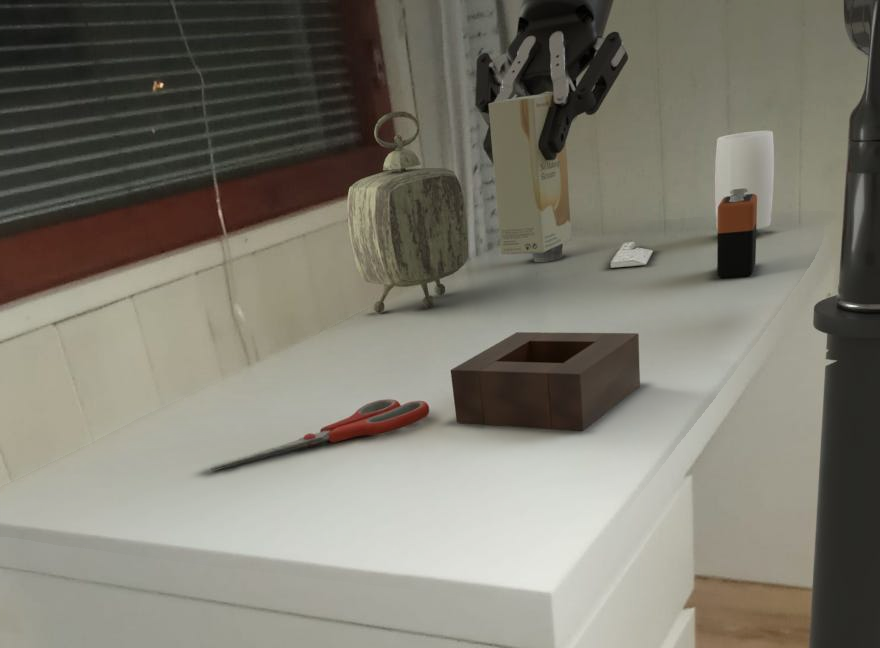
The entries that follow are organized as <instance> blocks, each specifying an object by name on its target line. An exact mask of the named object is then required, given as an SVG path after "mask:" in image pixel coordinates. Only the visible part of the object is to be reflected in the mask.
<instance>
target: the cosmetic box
mask: <svg viewBox="0 0 880 648" xmlns="http://www.w3.org/2000/svg"><path fill="white" fill-rule="evenodd" d="M552 106H555V103H554V97H553V92H546V93H542V94H539V95H531V96H524V97H518V98H513V99H507V100H502V101H497V102H492V103H490V104H489V116H490V128H491V140H492V153H493V163H492V165H493V164H494V165H493V172H494V173H493V174H494V175H493V176H494V188H495V198H496V199H495V200H496V210H497V222H498V224H497V225H498V235H499V236H498V237H499V247H500V254H501V255H519V254H533V253H544V252H546V251H547V250H549V249H552V248H554V247H556V246H558V245H560V244H563V245H564V244H565V243H567V242H570V241H571V240H572V227H571V226H572V225H571V224H572V223H571V209H570V194H569V193H570V192H569V191H570V190H569V174H568V156H567V141H566V142H565V145H564V148H563V149H562V151H561V152H560V153H557V156H556V159H555V160H548V161H546V160H545V158H544V156H543V155H542V153H541V151H540V149H539V145H538V143H539V139H540V136H541V132H542V129H543V126H544V123H545V120H546V116H547V113H548V110H549V107H552Z"/></svg>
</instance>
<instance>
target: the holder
mask: <svg viewBox="0 0 880 648" xmlns="http://www.w3.org/2000/svg"><path fill="white" fill-rule="evenodd" d="M639 336H640V335H639V333H638V332H533V331H532V332H531V331H529V332H528V331H527V332H525V331H524V332H522V331H519V332H518V331H517V332H514V333H513V334H511V335H509V336H508V337H506V338H504V339H502V340H501V341H499V342H497V343H495V344H493V345H492V346H490V347H487V348H486V349H484V350H483V351H481V352H480V353H478V354H476V355H475V356H472V357H470V358H469V359H467V360H466V361H464V362H462V363H460V364H458V365H457V366H455V367H453V368H452V369H450V378H451V385H452V393H453V402H454V410H455V419H456V423H459V424H472V425H474V424H476V425H491V426H503V427H504V426H505V427H520V428H535V429H552V430H564V431H565V430H566V431H579V432H583V431H585V430H586V429H587V428H589V427H590V426H591V425H592V424H594V423H595V422H596V421H597V420H599V419H600V418H601V417H602V416H603V415H605V414H606V413H607V412H609V411H610V410H611V409H613V408H614V407H615V406H616V405H618V404H619V403H620V402H622V401H623V400H624V399H626V398H627V397H628V396H629V395H630V394H631V393H632V392H634V391H635V390H637V389H638V388H639V387H640V386H641V374H640V373H641V372H640V340H639V339H640V338H639Z"/></svg>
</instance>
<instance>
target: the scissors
mask: <svg viewBox="0 0 880 648" xmlns="http://www.w3.org/2000/svg"><path fill="white" fill-rule="evenodd" d="M429 413H430V406H429V404H428V403H427V402H426V401H424V400H413V401H409V402H406V403H404V404H402V405H401V403H400V402H399V401H398V400H396V399H391V398H390V399H388V398H387V399H379V400H374V401H372V402H369V403H367V404H365V405H363V406H361V407H359V408H358V409H357V410H356V411H355V412H354V413H353V414H351V415H350V416H348V417H346V418H343V419H341V420H338V421H336V422H334V423H330V424H329V425H328V424H327V425H326V426H323V427H322V428H320V431H319V432H316V433H306V434H305V435H304V436H302V437H300V438H298V439H296V440H294V441H291V442H287V443H284V444H281V445H278V446H275V447H272V448H269V449H265V450H263V451H259V452H256V453H252V454H249V455H247V456H244V457H241V458H238V459H235V460H232V461H229V462H225V463H223V464H219V465H217V466H214V467H210V470H211V471H215V470H219V469H222V468H226V467H229V466H234V465H237V464H241V463H245V462H248V461H252V460H256V459H260V458H264V457H267V456H271V455H274V454H279V453H282V452H286V451H289V450H295V449H298V448H305V447H314V446H315V445H317V444H319V443H323V442H327V441H329V443H338V442H341V441H346V440H348V439H352V438H356V437H357V438H358V437H364V436H376V435H382V434H386V433H389V432H393V431H396V430H400V429H402V428H405V427H407V426H410V425H412V424H414V423H417V422H419V421H421V420H422V419H425V418H426V417H428V415H429Z"/></svg>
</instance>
